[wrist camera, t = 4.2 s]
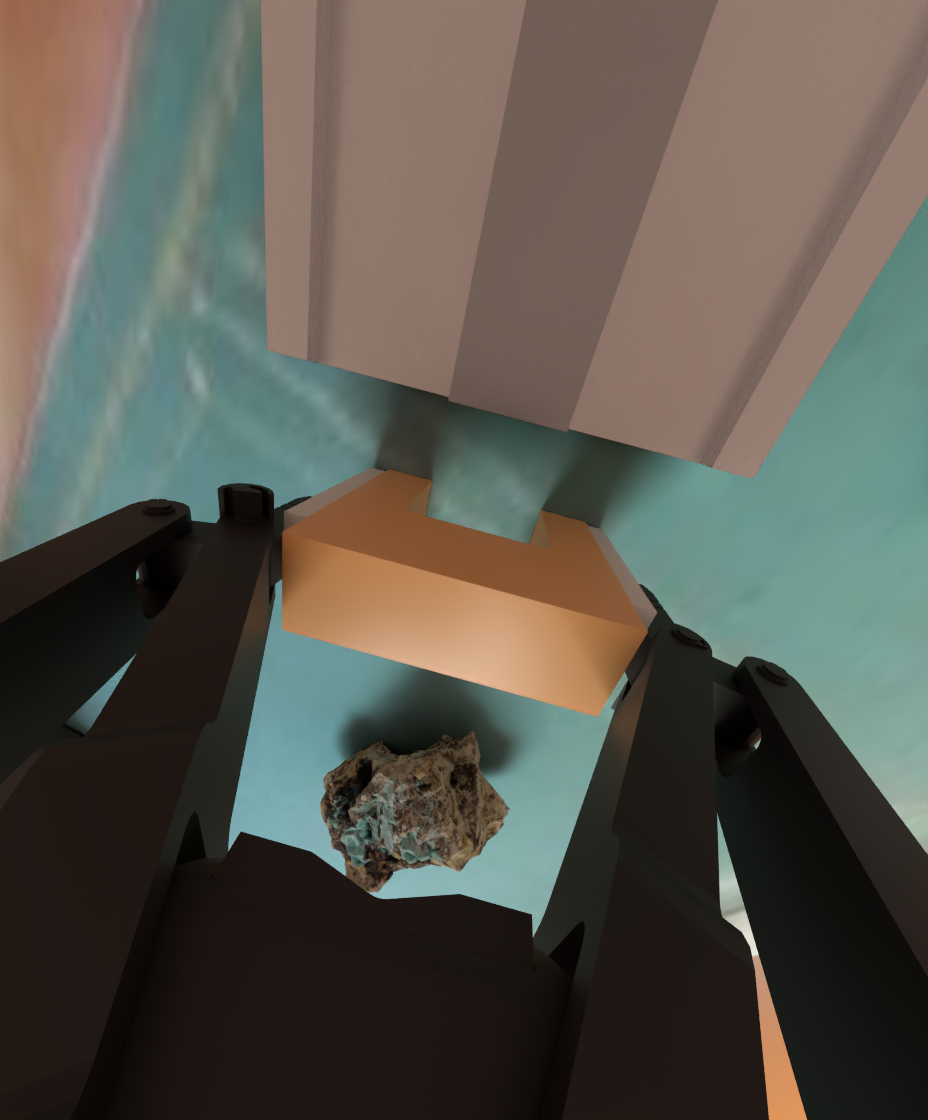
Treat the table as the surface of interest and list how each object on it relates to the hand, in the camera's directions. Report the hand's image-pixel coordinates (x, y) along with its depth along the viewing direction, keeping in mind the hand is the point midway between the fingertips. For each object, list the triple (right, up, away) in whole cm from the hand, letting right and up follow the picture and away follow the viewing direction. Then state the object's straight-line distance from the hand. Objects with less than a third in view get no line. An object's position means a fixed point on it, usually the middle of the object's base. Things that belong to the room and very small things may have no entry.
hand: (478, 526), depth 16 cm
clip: (0, 0, 0) cm, 0 cm away
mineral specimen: (-4, -16, +9) cm, 18 cm away
